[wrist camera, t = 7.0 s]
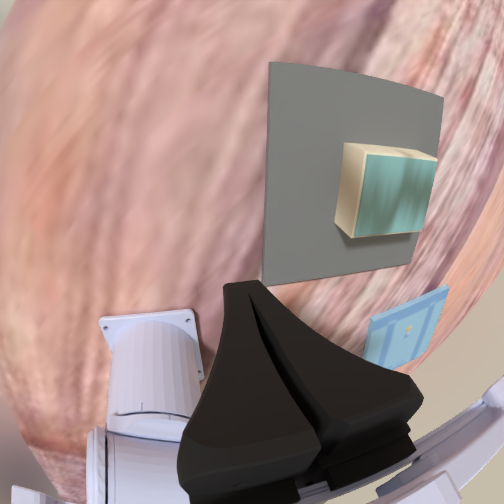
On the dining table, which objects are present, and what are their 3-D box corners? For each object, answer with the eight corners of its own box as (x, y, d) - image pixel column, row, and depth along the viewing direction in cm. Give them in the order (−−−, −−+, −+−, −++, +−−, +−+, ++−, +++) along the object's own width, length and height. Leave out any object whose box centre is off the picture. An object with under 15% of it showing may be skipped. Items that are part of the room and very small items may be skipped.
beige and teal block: (334, 222, 21) (403, 217, 23) (352, 239, 19) (422, 232, 20) (344, 142, 18) (416, 149, 20) (366, 151, 16) (439, 159, 17)
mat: (407, 260, 26) (410, 263, 26) (261, 282, 23) (263, 286, 23) (439, 96, 18) (443, 97, 18) (268, 62, 15) (271, 61, 14)
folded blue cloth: (420, 348, 38) (424, 353, 37) (355, 379, 37) (359, 385, 36) (443, 281, 31) (450, 287, 30) (368, 314, 30) (373, 321, 29)
